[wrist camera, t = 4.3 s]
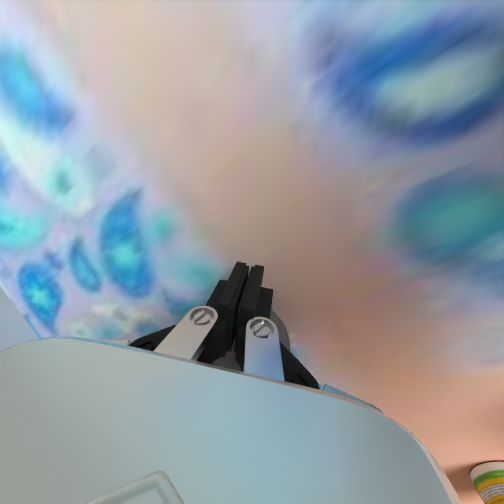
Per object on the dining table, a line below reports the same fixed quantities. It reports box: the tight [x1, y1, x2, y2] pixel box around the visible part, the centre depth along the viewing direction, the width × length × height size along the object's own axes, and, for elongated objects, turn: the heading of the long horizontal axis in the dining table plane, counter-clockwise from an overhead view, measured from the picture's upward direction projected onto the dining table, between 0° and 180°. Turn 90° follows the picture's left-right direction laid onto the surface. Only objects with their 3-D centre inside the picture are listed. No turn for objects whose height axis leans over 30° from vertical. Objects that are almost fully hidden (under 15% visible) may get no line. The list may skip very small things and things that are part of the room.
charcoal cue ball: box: [215, 310, 290, 371], centre depth 14 cm, size 6×6×6 cm
